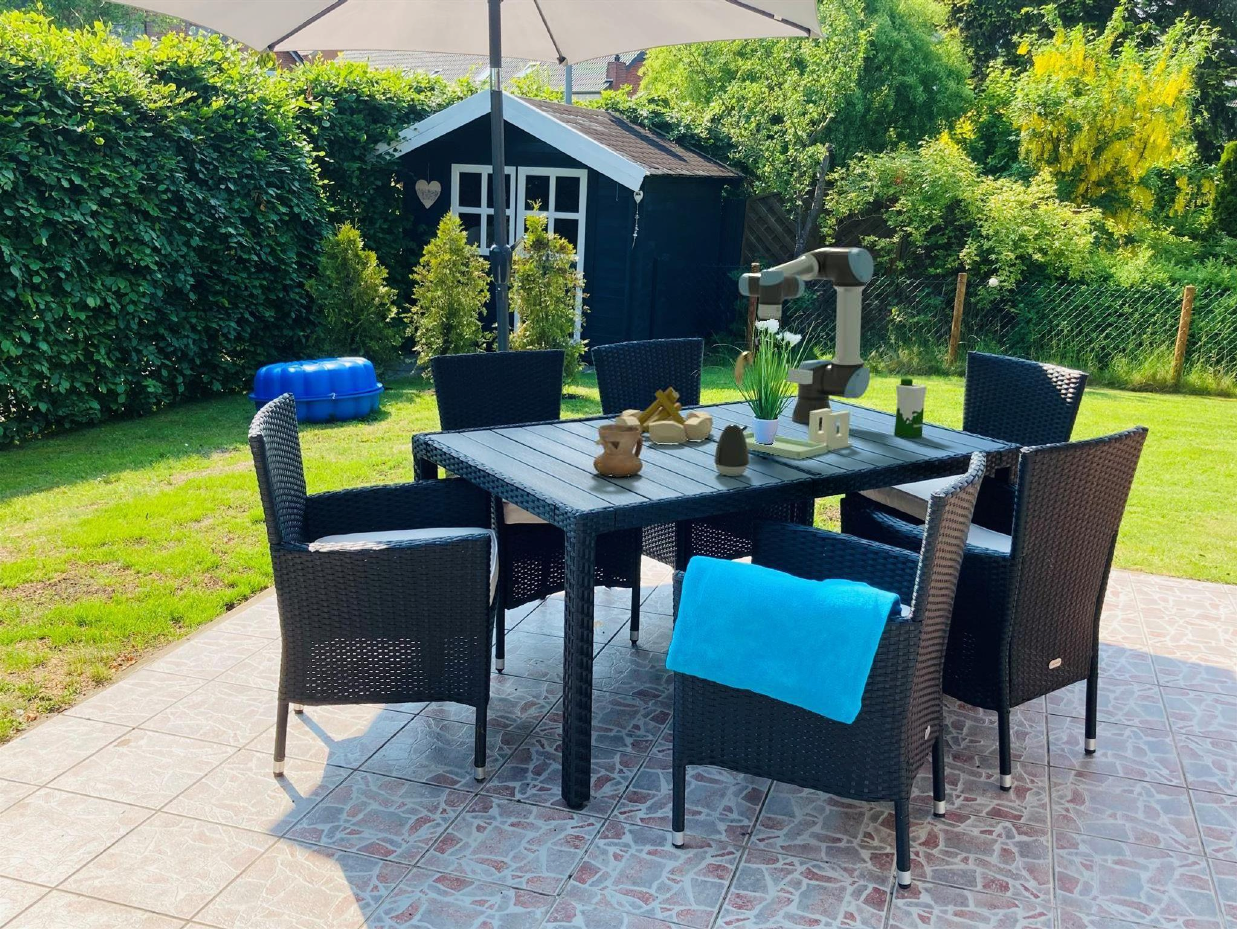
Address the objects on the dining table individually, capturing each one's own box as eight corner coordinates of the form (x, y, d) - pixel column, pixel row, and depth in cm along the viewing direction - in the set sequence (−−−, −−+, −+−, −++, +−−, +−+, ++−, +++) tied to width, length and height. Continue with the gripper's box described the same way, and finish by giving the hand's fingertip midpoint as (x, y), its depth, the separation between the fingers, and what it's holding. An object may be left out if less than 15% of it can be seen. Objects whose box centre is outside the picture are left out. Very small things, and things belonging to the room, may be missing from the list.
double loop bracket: (804, 445, 364) (805, 411, 361) (824, 440, 372) (826, 407, 369) (831, 450, 356) (833, 416, 353) (851, 445, 364) (854, 411, 362)
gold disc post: (728, 387, 361) (730, 352, 359) (751, 384, 370) (752, 349, 367) (797, 398, 342) (799, 360, 339) (819, 394, 350) (821, 357, 348)
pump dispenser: (756, 476, 319) (758, 425, 315) (728, 480, 313) (730, 428, 310) (734, 469, 327) (736, 420, 324) (707, 473, 322) (708, 423, 318)
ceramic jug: (611, 483, 308) (613, 434, 305) (579, 473, 319) (581, 426, 316) (657, 475, 320) (660, 428, 317) (625, 466, 330) (627, 420, 327)
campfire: (728, 433, 384) (729, 385, 380) (689, 450, 355) (690, 399, 351) (640, 423, 400) (640, 378, 396) (596, 439, 370) (596, 390, 367)
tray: (752, 438, 374) (752, 431, 373) (827, 452, 353) (827, 445, 352) (722, 444, 363) (722, 437, 362) (798, 459, 341) (799, 451, 341)
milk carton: (904, 432, 388) (908, 377, 383) (926, 436, 381) (930, 380, 377) (890, 435, 382) (893, 379, 378) (911, 439, 375) (916, 382, 371)
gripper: (763, 319, 344) (759, 392, 349) (794, 317, 356) (790, 387, 361) (744, 317, 350) (741, 389, 355) (775, 315, 361) (772, 385, 366)
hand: (766, 388), depth 358 cm, fingers closed on gold disc post, 3 cm apart
